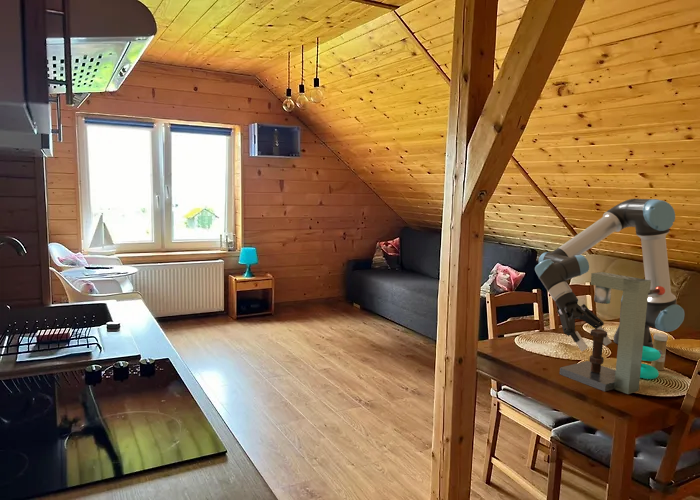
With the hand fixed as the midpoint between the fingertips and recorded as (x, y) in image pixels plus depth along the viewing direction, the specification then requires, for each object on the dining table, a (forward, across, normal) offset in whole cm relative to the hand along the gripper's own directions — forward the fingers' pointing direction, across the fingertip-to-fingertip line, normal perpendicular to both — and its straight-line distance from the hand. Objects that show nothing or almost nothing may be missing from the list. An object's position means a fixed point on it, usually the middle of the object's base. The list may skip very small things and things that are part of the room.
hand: (596, 346), depth 187 cm
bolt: (+7, 0, -7) cm, 9 cm away
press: (+10, -4, -6) cm, 13 cm away
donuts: (+13, -19, -4) cm, 24 cm away
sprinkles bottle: (+12, -31, -5) cm, 34 cm away
